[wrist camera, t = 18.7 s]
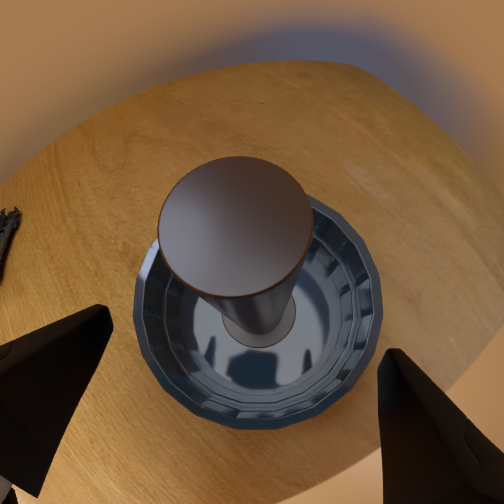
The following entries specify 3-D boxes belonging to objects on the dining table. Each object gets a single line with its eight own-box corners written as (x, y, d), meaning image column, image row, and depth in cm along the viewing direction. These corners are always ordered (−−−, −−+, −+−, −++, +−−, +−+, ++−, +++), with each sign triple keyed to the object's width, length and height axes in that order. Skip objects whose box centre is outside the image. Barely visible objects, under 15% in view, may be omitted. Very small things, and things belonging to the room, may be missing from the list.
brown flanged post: (271, 361, 16) (277, 401, 4) (211, 324, 17) (80, 260, 5) (307, 301, 17) (389, 184, 5) (248, 267, 18) (207, 106, 6)
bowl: (381, 289, 18) (418, 266, 13) (281, 438, 15) (285, 472, 10) (240, 199, 21) (231, 152, 16) (137, 330, 18) (94, 321, 13)
